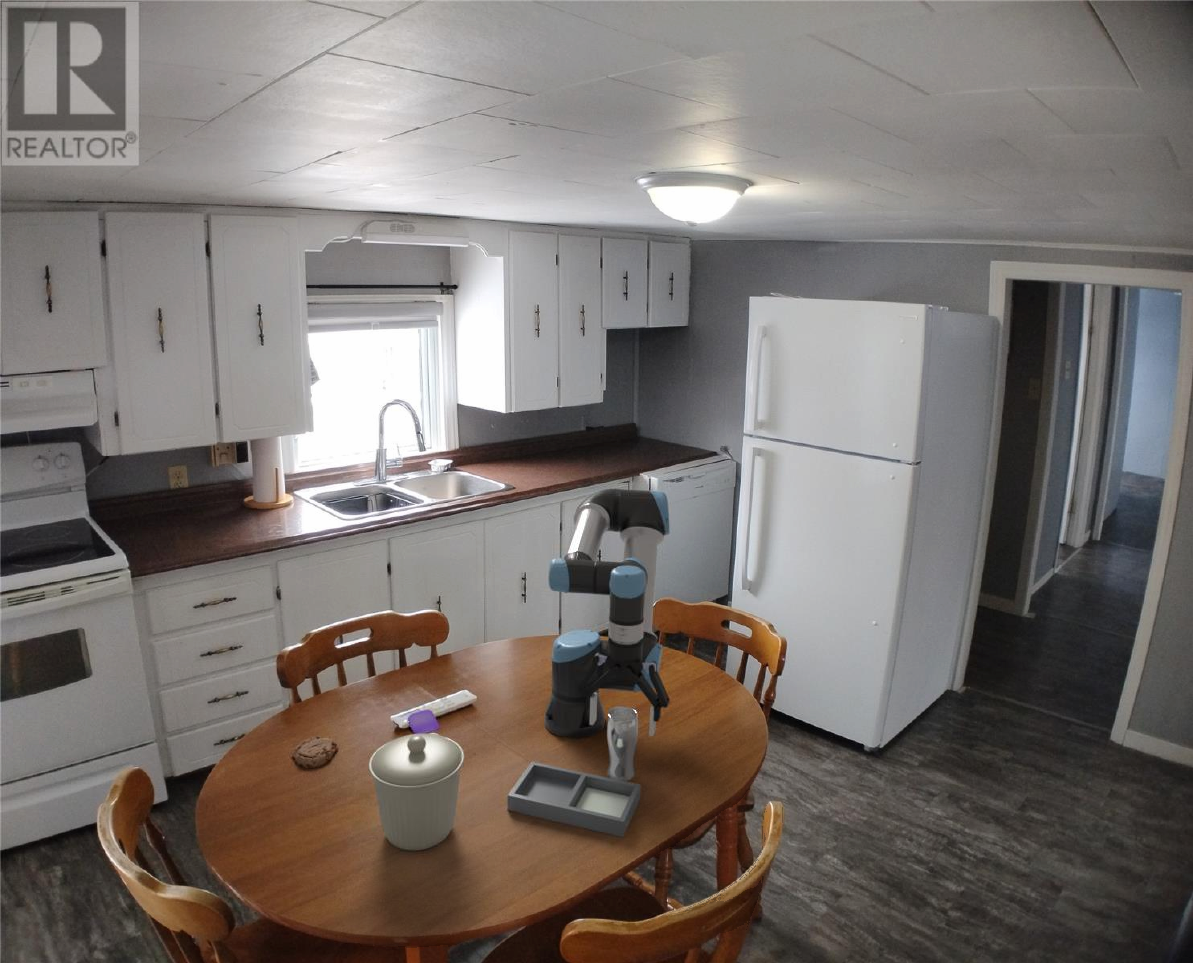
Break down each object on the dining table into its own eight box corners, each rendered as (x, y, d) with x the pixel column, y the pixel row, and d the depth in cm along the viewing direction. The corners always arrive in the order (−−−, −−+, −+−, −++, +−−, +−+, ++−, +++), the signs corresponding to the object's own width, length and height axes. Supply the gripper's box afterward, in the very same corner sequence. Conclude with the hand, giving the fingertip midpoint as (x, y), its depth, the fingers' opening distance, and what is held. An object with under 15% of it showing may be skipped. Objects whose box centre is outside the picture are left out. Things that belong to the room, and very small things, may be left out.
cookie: (296, 773, 178) (295, 761, 178) (290, 749, 188) (289, 737, 187) (342, 762, 183) (342, 750, 182) (334, 739, 192) (334, 728, 191)
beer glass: (614, 786, 176) (616, 724, 173) (599, 769, 182) (601, 709, 179) (641, 778, 179) (644, 717, 176) (626, 761, 185) (628, 702, 182)
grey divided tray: (507, 809, 167) (507, 795, 167) (531, 775, 179) (531, 761, 179) (623, 837, 160) (623, 821, 159) (640, 799, 172) (640, 784, 171)
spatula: (469, 763, 184) (469, 753, 183) (441, 772, 180) (441, 762, 180) (430, 716, 203) (430, 707, 203) (404, 723, 200) (404, 714, 199)
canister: (416, 794, 172) (413, 704, 167) (483, 823, 163) (483, 730, 158) (352, 842, 157) (346, 745, 152) (422, 877, 148) (419, 775, 143)
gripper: (565, 635, 173) (563, 725, 178) (678, 654, 166) (673, 746, 171) (576, 623, 180) (574, 709, 185) (686, 640, 173) (681, 729, 178)
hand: (622, 727), depth 178 cm, fingers open, 13 cm apart
